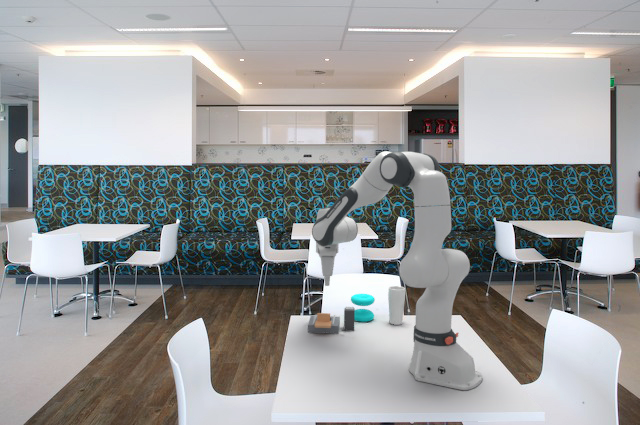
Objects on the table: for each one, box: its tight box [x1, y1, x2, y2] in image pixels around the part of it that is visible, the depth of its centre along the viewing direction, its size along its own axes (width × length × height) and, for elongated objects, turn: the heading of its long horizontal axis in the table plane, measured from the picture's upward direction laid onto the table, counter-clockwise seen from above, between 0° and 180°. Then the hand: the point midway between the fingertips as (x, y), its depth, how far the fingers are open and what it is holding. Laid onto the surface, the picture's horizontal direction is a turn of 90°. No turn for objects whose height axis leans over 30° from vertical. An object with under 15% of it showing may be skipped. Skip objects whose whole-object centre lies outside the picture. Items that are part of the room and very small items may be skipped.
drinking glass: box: [387, 285, 406, 326], centre depth 206 cm, size 7×7×15 cm
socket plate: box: [307, 313, 341, 335], centre depth 200 cm, size 12×12×4 cm
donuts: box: [350, 293, 376, 323], centre depth 212 cm, size 10×10×10 cm
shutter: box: [315, 312, 332, 328], centre depth 193 cm, size 6×6×4 cm
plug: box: [343, 306, 356, 332], centre depth 199 cm, size 4×4×9 cm
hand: (326, 282), depth 197 cm, fingers open, 8 cm apart
